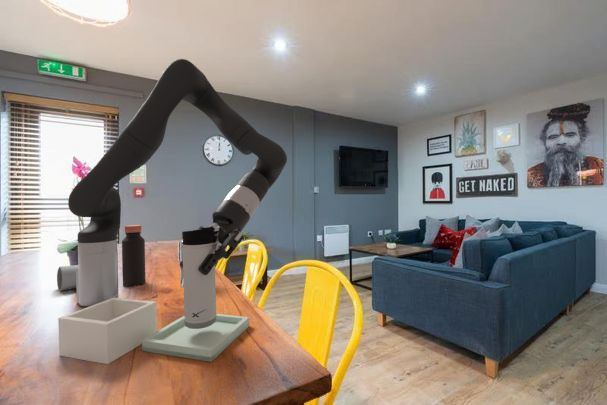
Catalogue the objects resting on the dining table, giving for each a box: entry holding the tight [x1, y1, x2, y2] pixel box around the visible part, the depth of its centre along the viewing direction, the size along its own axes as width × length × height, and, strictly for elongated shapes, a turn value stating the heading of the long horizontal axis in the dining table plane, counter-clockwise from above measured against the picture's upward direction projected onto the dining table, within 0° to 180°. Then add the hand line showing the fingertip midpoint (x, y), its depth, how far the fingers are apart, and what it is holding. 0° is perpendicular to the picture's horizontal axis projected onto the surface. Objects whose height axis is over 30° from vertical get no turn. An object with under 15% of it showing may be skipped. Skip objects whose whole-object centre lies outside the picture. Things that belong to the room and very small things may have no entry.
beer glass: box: [177, 239, 184, 288], centre depth 99 cm, size 7×7×15 cm
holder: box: [57, 297, 158, 365], centre depth 59 cm, size 12×12×7 cm
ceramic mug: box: [56, 264, 78, 292], centre depth 98 cm, size 11×8×8 cm
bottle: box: [121, 224, 147, 288], centre depth 100 cm, size 7×7×20 cm
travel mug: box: [181, 226, 217, 329], centre depth 61 cm, size 6×7×20 cm
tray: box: [141, 313, 250, 363], centre depth 61 cm, size 15×15×2 cm
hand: (192, 270), depth 60 cm, fingers closed on travel mug, 6 cm apart
